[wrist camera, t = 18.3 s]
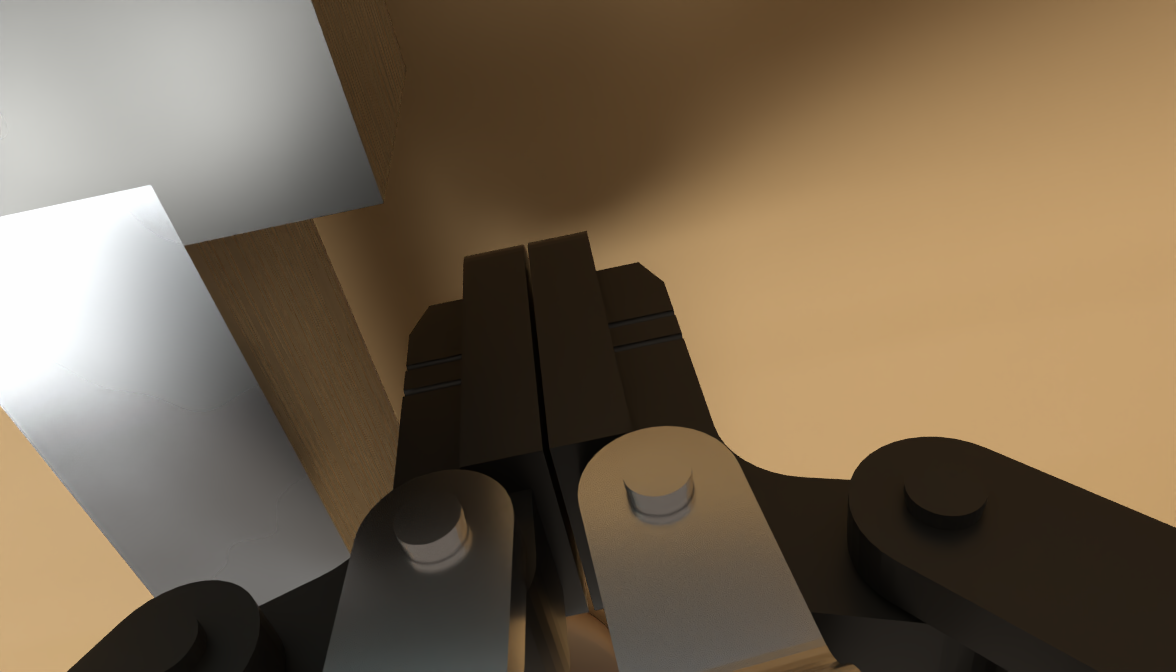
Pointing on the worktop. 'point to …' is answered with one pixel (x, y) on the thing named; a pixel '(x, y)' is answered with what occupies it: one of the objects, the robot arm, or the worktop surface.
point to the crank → (196, 274)
